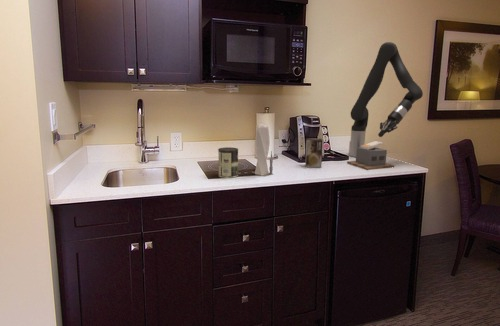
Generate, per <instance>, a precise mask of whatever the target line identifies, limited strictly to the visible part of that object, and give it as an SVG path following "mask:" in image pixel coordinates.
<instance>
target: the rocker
mask: <svg viewBox="0 0 500 326" xmlns="http://www.w3.org/2000/svg"><path fill="white" fill-rule="evenodd" d="M381 146H384V142H382V141H379V140H378V141H377V140H374V141H371V142H368V143H365V144H364V145H361V148H363V149H367V150H369V149H372V148H375V147H376V148H379V147H381Z"/></svg>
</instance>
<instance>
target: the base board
mask: <svg viewBox="0 0 500 326" xmlns="http://www.w3.org/2000/svg"><path fill="white" fill-rule="evenodd" d="M346 163H347V165H351V166H353V167H356V168H359V169H362V170H366V171H371V170H381V169H392V167H393V168H395V167H396V166H395V165H394V164H391V163H387V162H386V165H378V166H367V165H363V164H360V163H357V162H356V160H350V161H347V162H346Z"/></svg>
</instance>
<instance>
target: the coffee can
mask: <svg viewBox="0 0 500 326" xmlns="http://www.w3.org/2000/svg"><path fill="white" fill-rule="evenodd" d="M217 150H218V151H217V152H218V177H219V178H221V179H222V178H223V179H233V178H237V177H239V148H237V147H229V146H228V147H219V148H218V149H217Z"/></svg>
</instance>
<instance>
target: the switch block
mask: <svg viewBox="0 0 500 326" xmlns="http://www.w3.org/2000/svg"><path fill="white" fill-rule="evenodd" d="M387 152H388V150H387V149H385V148H380V147H375V148H372V149H369V150H367V149H363V148H357V153H356V157H355V161H356V162H357V163H360V164H363V165H367V166H378V165H386V163H387Z"/></svg>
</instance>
